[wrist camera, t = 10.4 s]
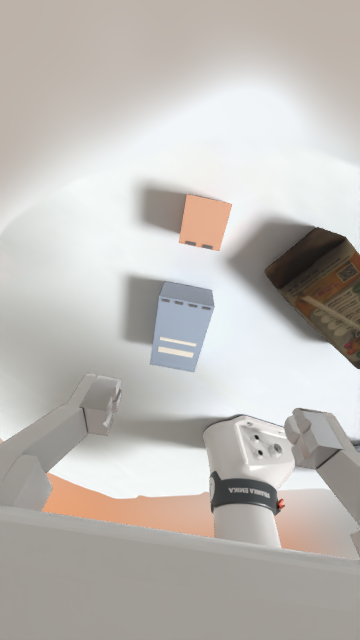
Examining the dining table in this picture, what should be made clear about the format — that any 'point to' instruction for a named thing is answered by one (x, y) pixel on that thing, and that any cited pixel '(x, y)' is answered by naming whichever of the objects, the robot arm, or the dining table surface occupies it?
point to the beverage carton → (324, 287)
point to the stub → (204, 222)
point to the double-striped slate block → (181, 325)
